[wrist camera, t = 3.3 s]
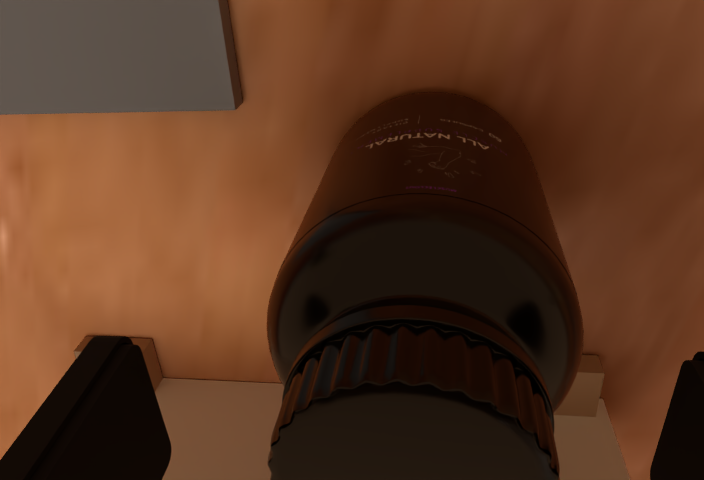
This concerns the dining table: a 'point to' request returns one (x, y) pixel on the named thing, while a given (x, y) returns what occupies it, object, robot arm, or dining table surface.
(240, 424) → the screen
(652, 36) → the dining table surface
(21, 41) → the pad
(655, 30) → the dining table surface
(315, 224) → the supplement bottle
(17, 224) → the dining table surface
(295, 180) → the dining table surface
